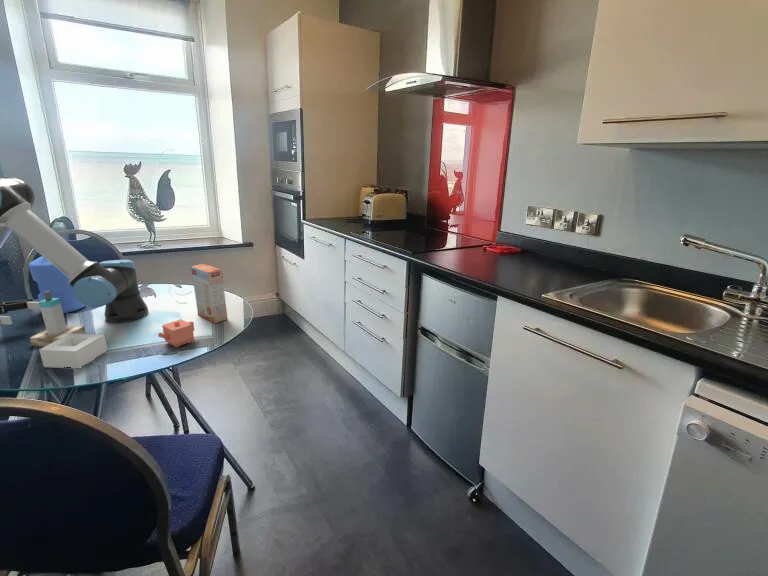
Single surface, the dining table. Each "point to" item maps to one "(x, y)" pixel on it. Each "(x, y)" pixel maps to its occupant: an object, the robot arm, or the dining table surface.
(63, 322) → the plug
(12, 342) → the dining table surface
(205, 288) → the cracker box
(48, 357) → the socket block
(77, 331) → the beige flat square frame
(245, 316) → the dining table surface
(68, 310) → the water jug
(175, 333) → the pink cube teapot
